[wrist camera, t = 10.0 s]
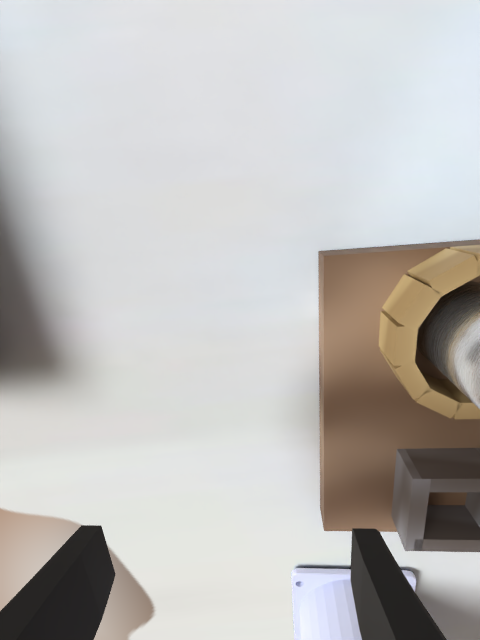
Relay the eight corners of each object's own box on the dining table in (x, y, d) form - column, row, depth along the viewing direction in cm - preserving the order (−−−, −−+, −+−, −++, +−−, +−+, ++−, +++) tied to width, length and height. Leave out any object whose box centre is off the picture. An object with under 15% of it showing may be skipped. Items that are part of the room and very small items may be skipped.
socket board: (527, 509, 20) (579, 571, 16) (320, 508, 21) (330, 565, 18) (598, 231, 14) (696, 238, 11) (318, 251, 16) (331, 263, 12)
